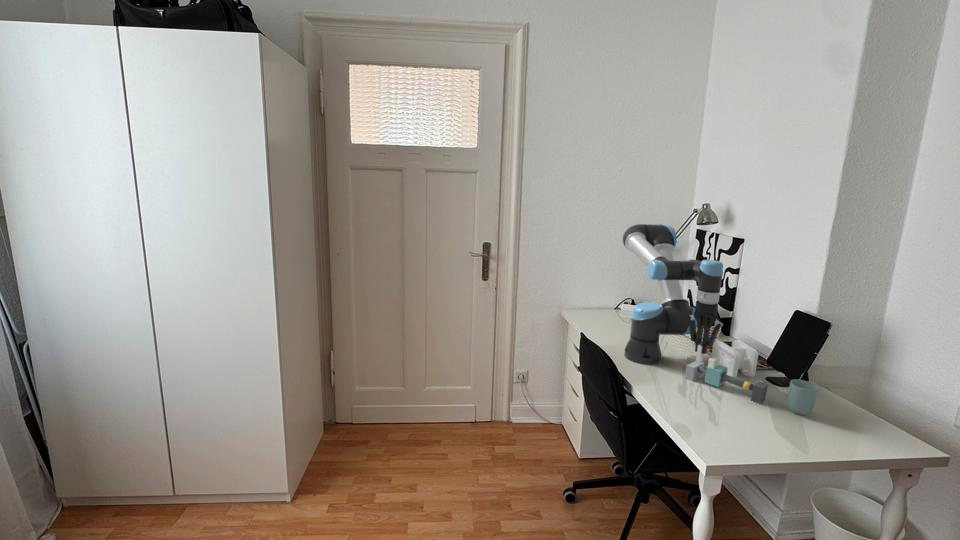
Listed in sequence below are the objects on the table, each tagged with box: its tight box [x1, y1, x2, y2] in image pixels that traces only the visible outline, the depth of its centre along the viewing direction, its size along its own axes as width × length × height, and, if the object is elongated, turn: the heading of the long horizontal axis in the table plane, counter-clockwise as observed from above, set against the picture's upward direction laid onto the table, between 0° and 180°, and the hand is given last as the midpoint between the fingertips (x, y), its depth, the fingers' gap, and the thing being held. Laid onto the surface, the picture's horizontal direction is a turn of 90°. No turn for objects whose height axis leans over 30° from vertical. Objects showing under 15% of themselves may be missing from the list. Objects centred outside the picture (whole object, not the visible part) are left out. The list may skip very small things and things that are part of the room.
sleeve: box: [704, 356, 728, 388], centre depth 171 cm, size 5×6×9 cm
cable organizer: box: [710, 339, 759, 378], centre depth 182 cm, size 15×11×12 cm
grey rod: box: [697, 366, 755, 392], centre depth 169 cm, size 21×3×3 cm, turn 39°
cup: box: [786, 378, 819, 416], centre depth 152 cm, size 8×8×10 cm
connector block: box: [750, 380, 769, 405], centre depth 160 cm, size 3×5×6 cm, turn 129°
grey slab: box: [684, 360, 705, 382], centre depth 177 cm, size 3×8×5 cm, turn 129°
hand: (699, 360), depth 175 cm, fingers closed
